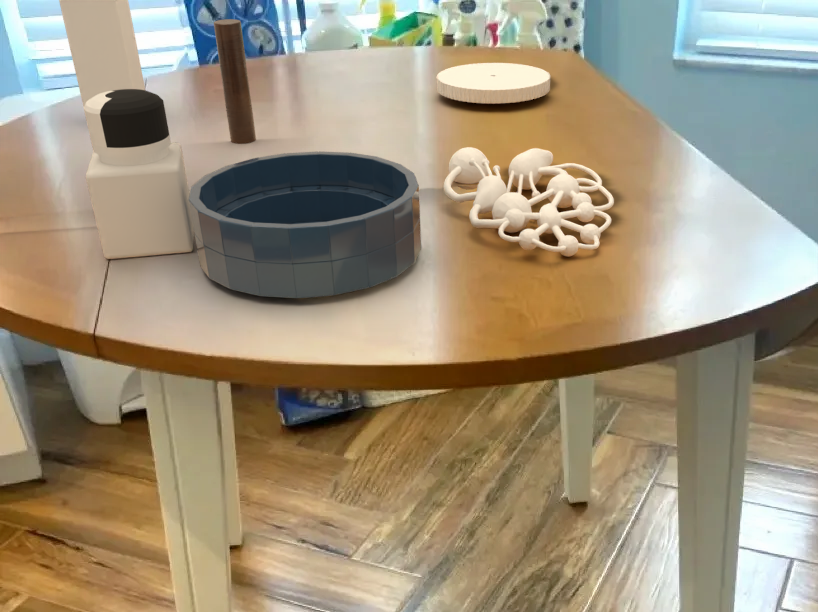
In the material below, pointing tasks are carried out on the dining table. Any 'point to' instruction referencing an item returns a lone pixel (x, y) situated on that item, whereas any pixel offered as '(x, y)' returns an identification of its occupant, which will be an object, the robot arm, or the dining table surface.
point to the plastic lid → (493, 83)
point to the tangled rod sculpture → (516, 209)
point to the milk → (102, 46)
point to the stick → (235, 80)
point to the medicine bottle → (136, 177)
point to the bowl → (306, 223)
